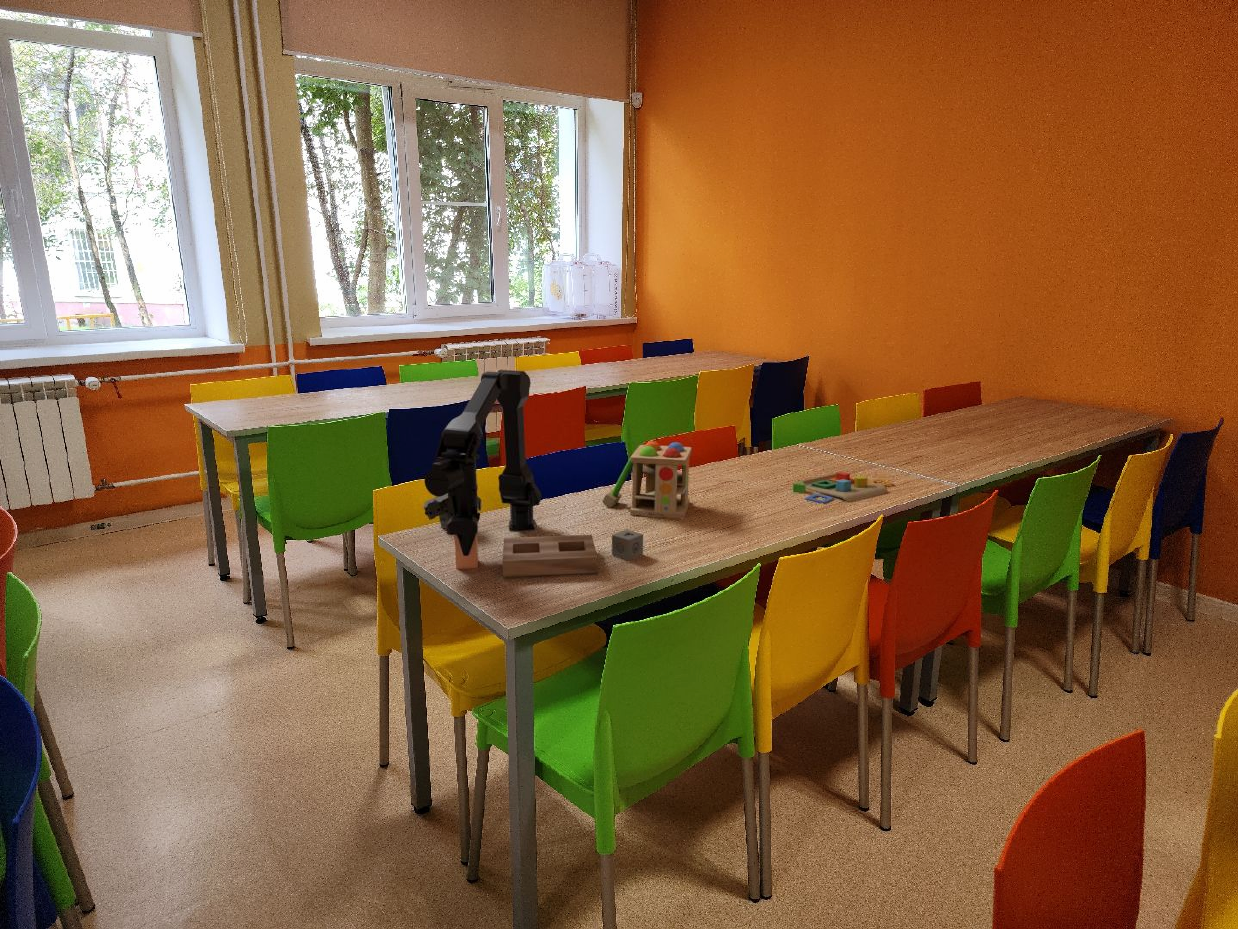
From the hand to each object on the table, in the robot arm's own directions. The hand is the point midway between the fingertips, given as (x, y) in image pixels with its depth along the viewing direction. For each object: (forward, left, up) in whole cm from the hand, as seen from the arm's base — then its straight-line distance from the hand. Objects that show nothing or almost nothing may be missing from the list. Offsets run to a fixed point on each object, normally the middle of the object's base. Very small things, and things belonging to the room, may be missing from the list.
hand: (466, 551), depth 175 cm
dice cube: (-2, +36, -3) cm, 36 cm away
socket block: (+2, +18, -3) cm, 18 cm away
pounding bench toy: (-35, +45, -3) cm, 57 cm away
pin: (0, 0, -3) cm, 3 cm away
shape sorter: (-46, +105, -4) cm, 115 cm away
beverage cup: (-26, -6, -3) cm, 27 cm away
